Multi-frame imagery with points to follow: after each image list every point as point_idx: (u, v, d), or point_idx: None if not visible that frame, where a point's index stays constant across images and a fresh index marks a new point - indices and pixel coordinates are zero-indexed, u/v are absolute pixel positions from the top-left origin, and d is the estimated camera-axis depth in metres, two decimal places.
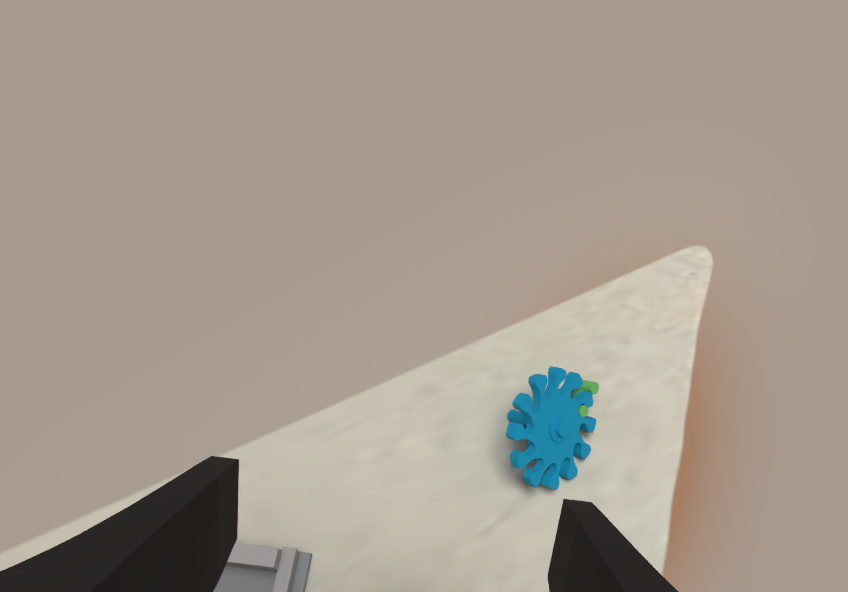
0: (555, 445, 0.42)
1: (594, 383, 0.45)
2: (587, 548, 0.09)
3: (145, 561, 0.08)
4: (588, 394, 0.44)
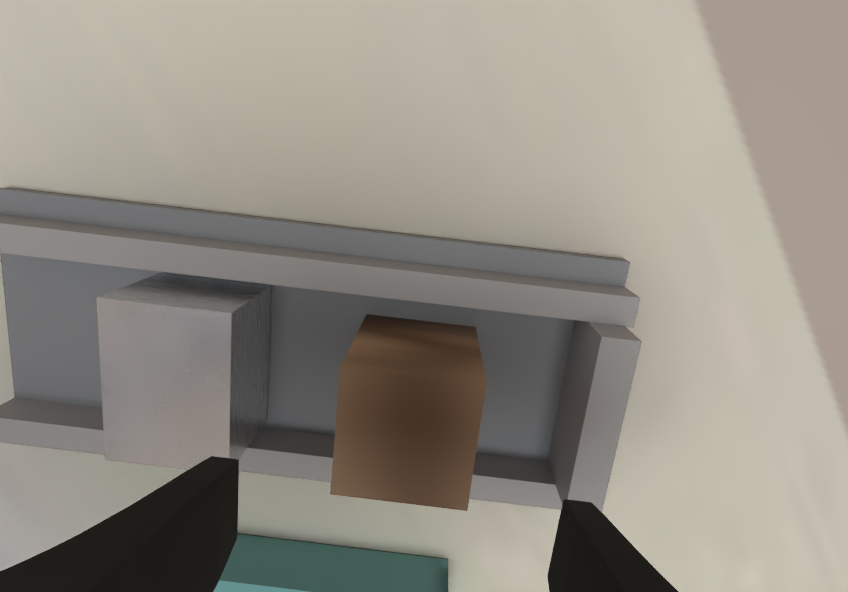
0: None
1: None
2: (587, 548, 0.09)
3: (145, 561, 0.08)
4: None
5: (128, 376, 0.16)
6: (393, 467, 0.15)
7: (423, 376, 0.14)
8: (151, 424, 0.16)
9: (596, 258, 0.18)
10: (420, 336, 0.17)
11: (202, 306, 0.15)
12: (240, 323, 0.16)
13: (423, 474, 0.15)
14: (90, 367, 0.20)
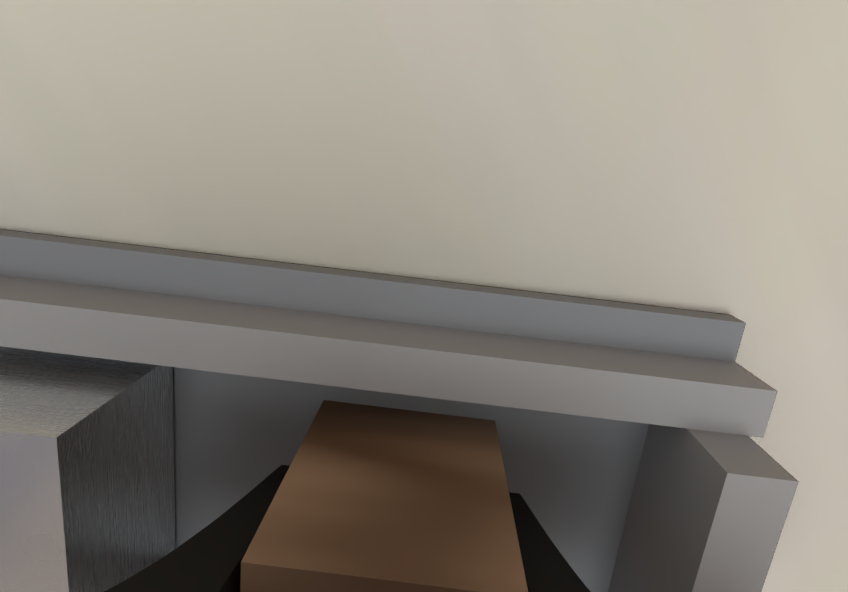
0: None
1: None
2: None
3: None
4: None
5: None
6: None
7: (405, 580, 0.07)
8: None
9: (691, 316, 0.11)
10: (405, 451, 0.10)
11: (10, 420, 0.09)
12: (88, 443, 0.09)
13: None
14: None
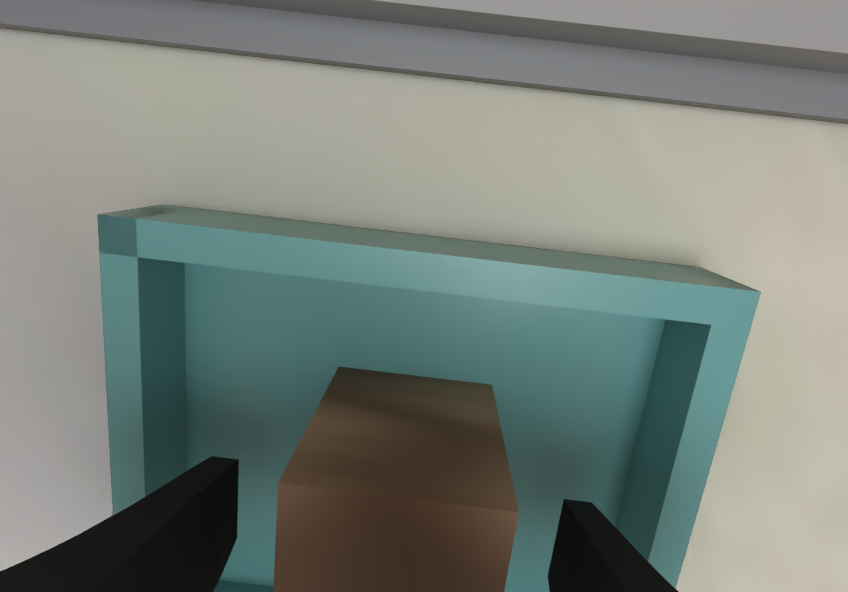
0: None
1: None
2: (587, 548, 0.09)
3: (145, 561, 0.08)
4: None
5: None
6: None
7: (415, 498, 0.08)
8: None
9: None
10: (412, 406, 0.12)
11: None
12: None
13: None
14: None
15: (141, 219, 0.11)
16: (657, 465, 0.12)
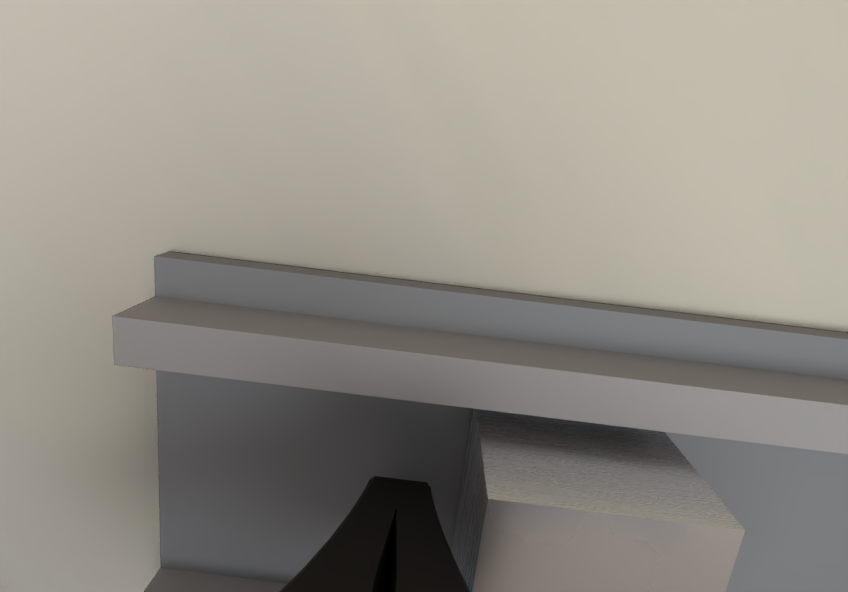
0: None
1: None
2: (395, 525, 0.09)
3: (374, 590, 0.08)
4: None
5: None
6: None
7: None
8: None
9: None
10: None
11: (672, 509, 0.08)
12: None
13: None
14: (283, 527, 0.13)
15: None
16: None
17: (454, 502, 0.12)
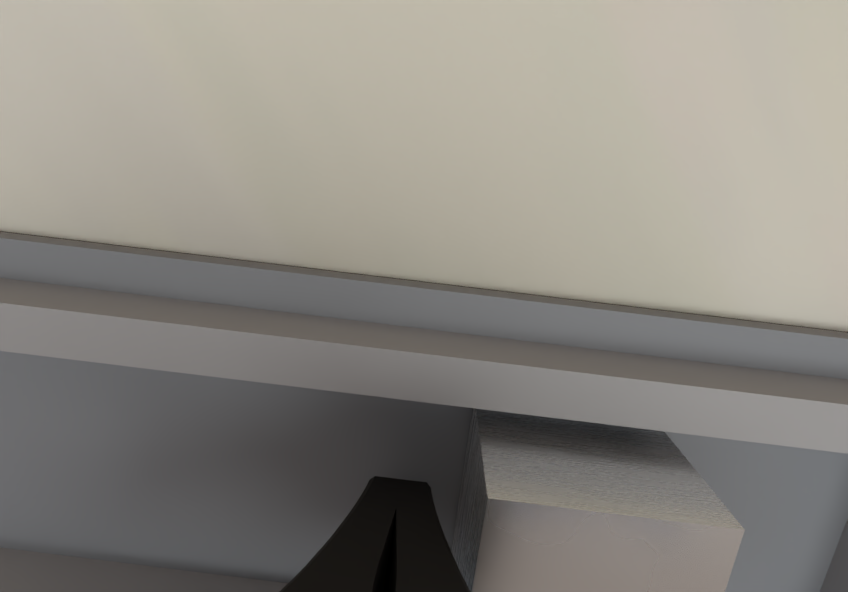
0: None
1: None
2: (395, 525, 0.09)
3: (374, 590, 0.08)
4: None
5: None
6: None
7: None
8: None
9: None
10: None
11: (671, 509, 0.08)
12: None
13: None
14: (95, 503, 0.13)
15: None
16: None
17: (259, 478, 0.12)
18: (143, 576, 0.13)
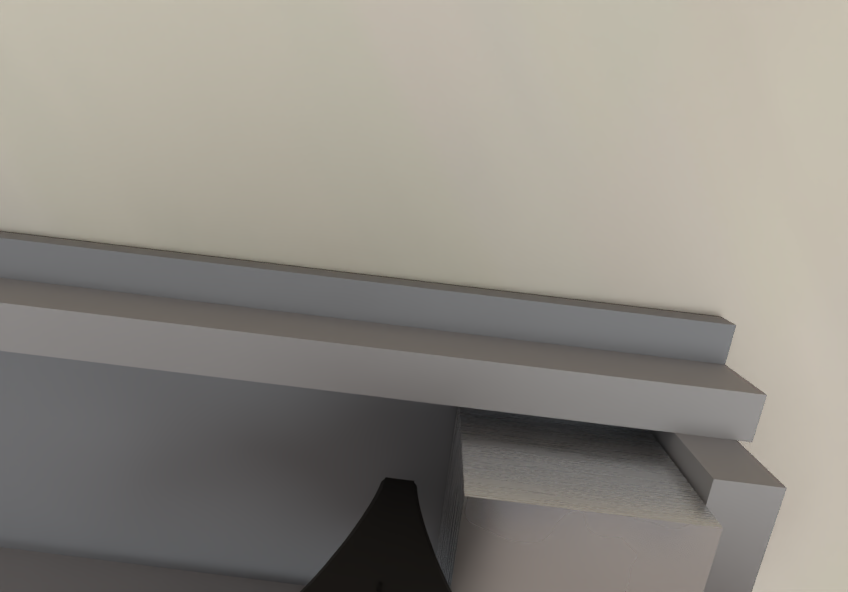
0: None
1: None
2: None
3: None
4: None
5: None
6: None
7: None
8: None
9: (680, 318, 0.11)
10: None
11: (650, 507, 0.08)
12: None
13: None
14: None
15: None
16: None
17: (43, 451, 0.12)
18: None
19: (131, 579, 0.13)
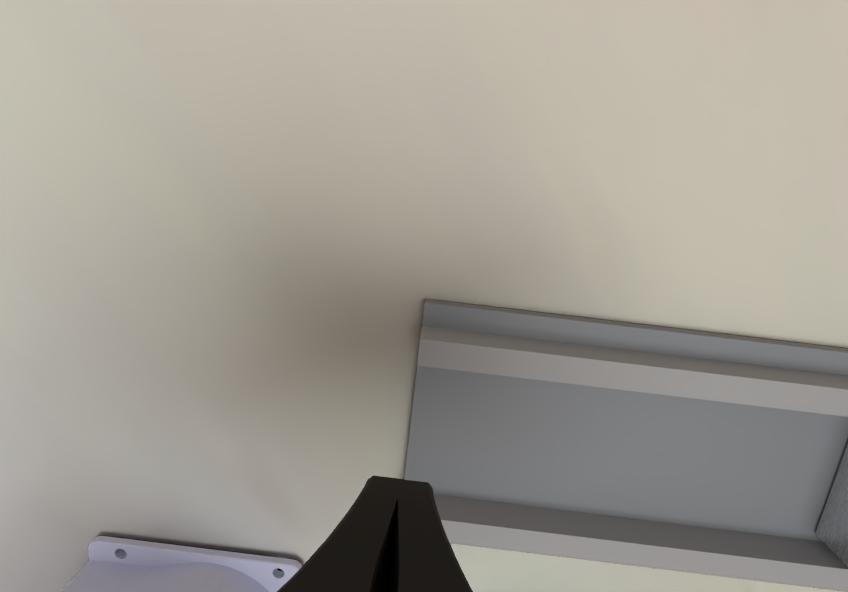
0: None
1: None
2: (397, 525, 0.09)
3: (372, 590, 0.08)
4: None
5: None
6: None
7: None
8: None
9: None
10: None
11: None
12: None
13: None
14: (482, 464, 0.21)
15: None
16: None
17: (589, 448, 0.20)
18: (511, 508, 0.21)
19: (636, 526, 0.21)
